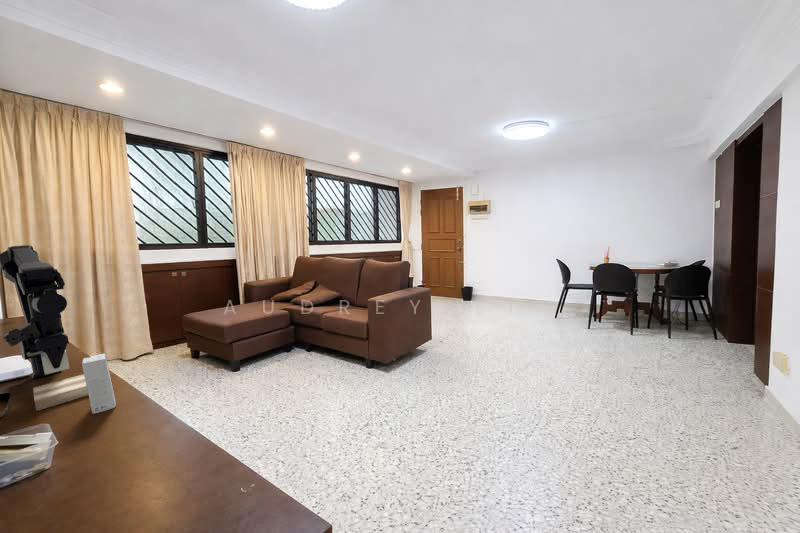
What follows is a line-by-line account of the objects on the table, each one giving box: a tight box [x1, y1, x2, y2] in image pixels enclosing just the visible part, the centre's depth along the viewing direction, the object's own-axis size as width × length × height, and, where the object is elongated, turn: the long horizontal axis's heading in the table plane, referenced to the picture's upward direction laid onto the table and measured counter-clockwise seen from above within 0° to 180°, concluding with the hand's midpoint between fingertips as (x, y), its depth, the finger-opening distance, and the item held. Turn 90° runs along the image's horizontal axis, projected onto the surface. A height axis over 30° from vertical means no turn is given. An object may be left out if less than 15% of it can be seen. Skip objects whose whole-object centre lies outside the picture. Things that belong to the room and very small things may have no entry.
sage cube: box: [41, 349, 70, 375], centre depth 100 cm, size 5×5×5 cm
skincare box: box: [81, 352, 117, 414], centre depth 84 cm, size 6×4×12 cm
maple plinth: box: [32, 373, 89, 411], centre depth 93 cm, size 12×11×2 cm
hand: (56, 365), depth 100 cm, fingers closed on sage cube, 5 cm apart
